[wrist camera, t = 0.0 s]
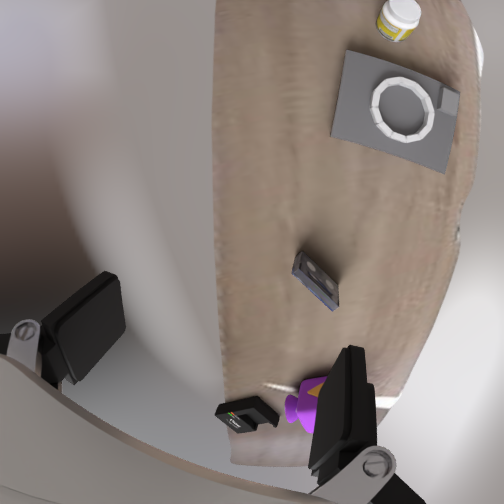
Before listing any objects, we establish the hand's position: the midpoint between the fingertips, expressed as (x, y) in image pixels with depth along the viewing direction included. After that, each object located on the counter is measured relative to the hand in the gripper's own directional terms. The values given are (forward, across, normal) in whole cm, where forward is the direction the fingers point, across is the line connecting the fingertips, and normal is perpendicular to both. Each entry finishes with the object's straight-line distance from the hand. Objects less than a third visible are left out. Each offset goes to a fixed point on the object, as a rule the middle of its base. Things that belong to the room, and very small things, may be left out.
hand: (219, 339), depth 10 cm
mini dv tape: (+32, -6, +12) cm, 34 cm away
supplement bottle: (+31, -9, -27) cm, 42 cm away
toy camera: (+32, -15, +39) cm, 52 cm away
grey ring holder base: (+31, -11, -14) cm, 36 cm away
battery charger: (+32, -2, +55) cm, 63 cm away
